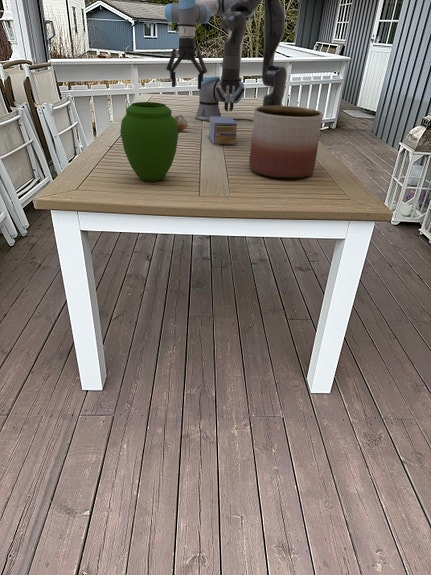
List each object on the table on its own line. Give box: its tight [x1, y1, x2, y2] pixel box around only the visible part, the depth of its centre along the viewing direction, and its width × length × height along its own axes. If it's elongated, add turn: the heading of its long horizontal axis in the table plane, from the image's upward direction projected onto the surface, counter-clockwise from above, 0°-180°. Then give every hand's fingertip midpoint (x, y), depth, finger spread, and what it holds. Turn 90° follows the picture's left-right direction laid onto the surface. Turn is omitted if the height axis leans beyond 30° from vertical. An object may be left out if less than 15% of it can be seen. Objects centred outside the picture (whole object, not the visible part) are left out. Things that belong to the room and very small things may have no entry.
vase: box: [119, 101, 179, 182], centre depth 140 cm, size 20×20×24 cm
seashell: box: [173, 114, 189, 132], centre depth 214 cm, size 10×6×8 cm, turn 97°
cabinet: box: [208, 116, 238, 145], centre depth 200 cm, size 16×11×10 cm
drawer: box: [215, 125, 238, 145], centre depth 195 cm, size 20×10×8 cm, turn 9°
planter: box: [248, 105, 324, 180], centre depth 156 cm, size 25×25×22 cm
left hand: (186, 88), depth 201 cm, fingers open, 13 cm apart
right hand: (228, 111), depth 183 cm, fingers closed
